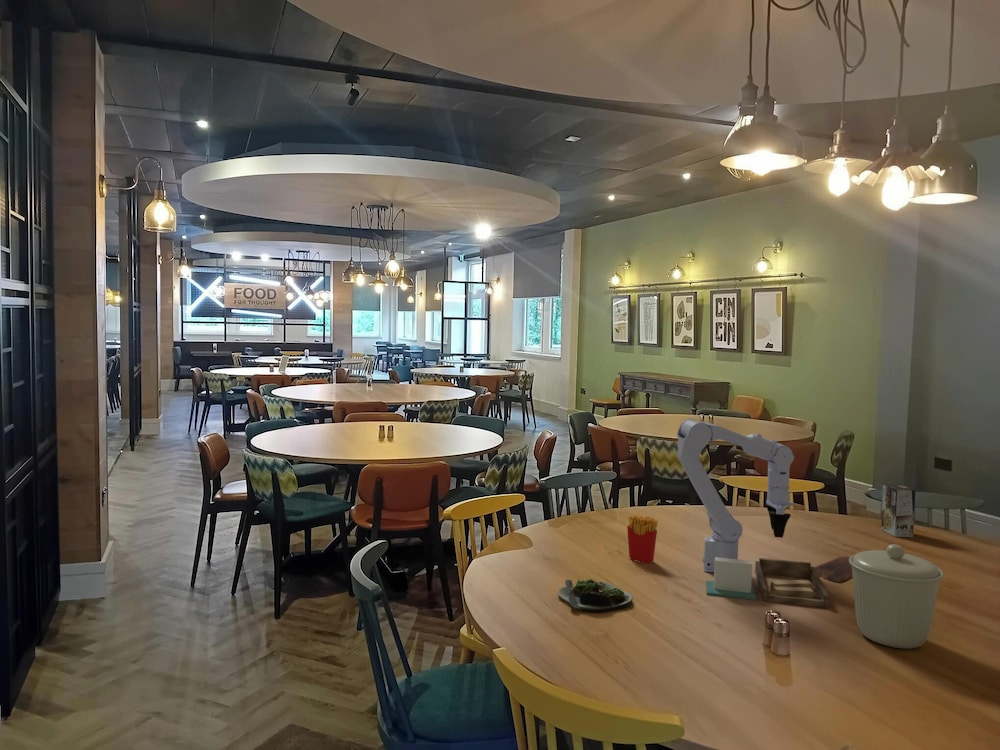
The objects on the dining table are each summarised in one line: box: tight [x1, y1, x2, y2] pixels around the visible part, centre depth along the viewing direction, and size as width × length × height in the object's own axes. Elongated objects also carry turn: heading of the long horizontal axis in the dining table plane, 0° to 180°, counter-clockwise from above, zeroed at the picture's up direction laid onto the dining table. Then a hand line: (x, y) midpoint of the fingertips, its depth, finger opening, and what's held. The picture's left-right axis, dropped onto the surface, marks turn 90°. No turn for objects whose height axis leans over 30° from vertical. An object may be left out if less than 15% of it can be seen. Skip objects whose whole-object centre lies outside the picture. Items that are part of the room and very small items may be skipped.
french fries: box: [626, 514, 659, 564], centre depth 204 cm, size 9×4×13 cm, turn 50°
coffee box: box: [880, 483, 917, 538], centre depth 236 cm, size 9×6×16 cm
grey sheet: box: [713, 557, 753, 593], centre depth 180 cm, size 9×3×8 cm, turn 74°
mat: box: [705, 580, 757, 601], centre depth 181 cm, size 12×9×1 cm
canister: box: [849, 543, 945, 650], centre depth 153 cm, size 18×18×21 cm
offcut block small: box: [773, 586, 815, 599], centre depth 176 cm, size 9×2×3 cm, turn 85°
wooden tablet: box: [813, 556, 853, 584], centre depth 200 cm, size 26×2×10 cm
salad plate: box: [557, 578, 633, 614], centre depth 175 cm, size 19×18×5 cm
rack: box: [754, 557, 830, 609], centre depth 183 cm, size 15×23×4 cm
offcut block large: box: [769, 579, 814, 595], centre depth 179 cm, size 10×2×4 cm, turn 96°
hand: (777, 533), depth 198 cm, fingers open, 7 cm apart
